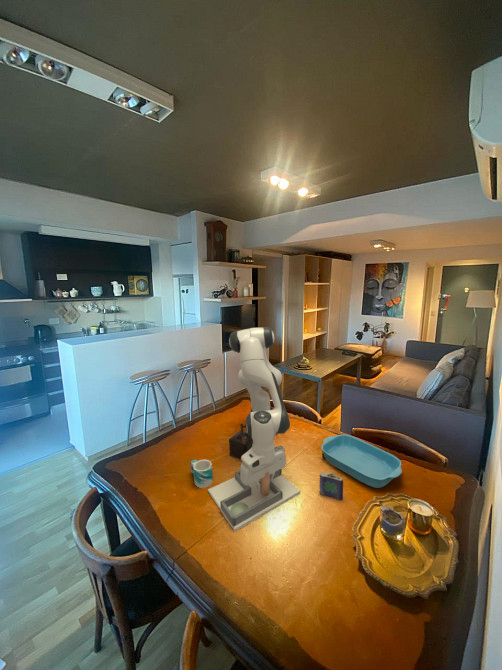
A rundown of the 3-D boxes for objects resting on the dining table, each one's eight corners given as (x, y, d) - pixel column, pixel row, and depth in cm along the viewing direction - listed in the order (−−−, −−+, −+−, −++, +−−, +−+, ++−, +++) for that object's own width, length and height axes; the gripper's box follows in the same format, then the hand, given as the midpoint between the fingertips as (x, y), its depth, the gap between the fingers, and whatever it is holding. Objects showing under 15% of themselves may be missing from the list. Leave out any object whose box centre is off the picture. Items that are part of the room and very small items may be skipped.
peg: (266, 487, 112) (265, 465, 110) (271, 493, 109) (271, 470, 107) (258, 491, 110) (257, 469, 108) (263, 497, 107) (263, 474, 105)
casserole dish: (312, 457, 136) (312, 444, 134) (339, 441, 149) (339, 429, 147) (385, 502, 106) (386, 486, 105) (411, 477, 119) (412, 462, 118)
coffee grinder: (247, 462, 133) (245, 429, 130) (229, 455, 139) (227, 423, 136) (263, 446, 146) (262, 415, 143) (246, 440, 152) (244, 410, 149)
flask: (318, 494, 111) (319, 471, 109) (320, 489, 114) (320, 467, 112) (342, 501, 107) (343, 477, 106) (343, 496, 110) (344, 472, 108)
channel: (267, 464, 131) (267, 456, 131) (300, 493, 112) (300, 484, 112) (208, 492, 115) (207, 483, 114) (234, 531, 96) (234, 521, 95)
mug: (201, 491, 116) (199, 473, 114) (186, 477, 124) (184, 461, 123) (216, 481, 121) (215, 464, 120) (201, 469, 130) (199, 453, 128)
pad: (242, 500, 108) (242, 499, 108) (252, 512, 103) (252, 511, 102) (227, 508, 105) (227, 507, 105) (236, 521, 99) (236, 520, 99)
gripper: (279, 440, 115) (279, 469, 117) (237, 458, 104) (239, 490, 106) (289, 447, 109) (289, 478, 112) (246, 467, 98) (247, 500, 101)
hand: (264, 484), depth 109 cm, fingers closed on peg, 4 cm apart
